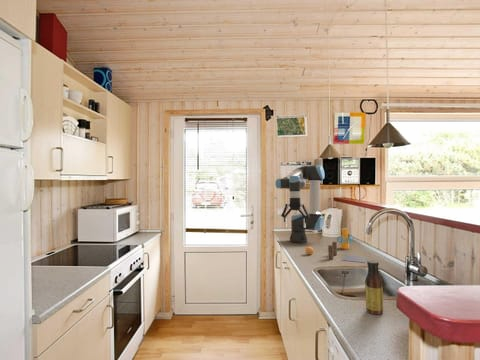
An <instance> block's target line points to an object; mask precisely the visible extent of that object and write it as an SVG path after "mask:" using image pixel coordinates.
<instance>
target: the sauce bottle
mask: <svg viewBox="0 0 480 360" xmlns="http://www.w3.org/2000/svg"><path fill="white" fill-rule="evenodd" d="M366 262H367V263H366V264H367V275H366V277H365V281H364V285H365V286H364V288H365V290H364V292H365V308H366V312H368V313H369V314H372V315H382V314H383V312H384V295H383V293H384V292H383V281H382V277H381V275H380V274H379V261H377V260H374V259H373V260H368V261H367V260H366Z"/></svg>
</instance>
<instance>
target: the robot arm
mask: <svg viewBox="0 0 480 360" xmlns="http://www.w3.org/2000/svg"><path fill="white" fill-rule="evenodd" d="M325 177H326V176H325V170H324V167H323V166H322V165H303V166H300V167H297V168H295V169H294V170H292V172H290V174H287V175H286V176H284V177H283V178H276V179H275V182H274V183H275V187H276V188H277V189H282V190H283V189H284V190H285V189H288V190H289V204H288V203H285V205H284V206H285V207H284V209H283V211H282V213H281V215H280V216H281V217H282V218H283V222H284V225H285V227H284V228H287V227H288V215H289V214H290V213H291V211H298V212H299V213H298V214H292V215H291V217H290V218H291V220H290V223H291V224H290V225H291V233H290V235H289V242H290V243H293V244H294V243H295V244H304V243H308V242H309V241H308V237H307V236H308V235H307V234H306V231H321V230H322V229H323V226H324V223H325V220H324V216H323V215H322V213H321V212H320V208H321V201H320V200H321V183H322V182H323V180H324V179H325ZM306 180H307V182H308V183H309V200H308V203H309V205H308V210H307V208H306V204H305V203H303V204H301V190H302V189H304V188H305V187H306V186H307V182H306ZM288 208H289V209H288ZM302 209H303V210H302Z"/></svg>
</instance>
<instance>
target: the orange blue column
mask: <svg viewBox="0 0 480 360" xmlns="http://www.w3.org/2000/svg"><path fill="white" fill-rule="evenodd" d="M348 230H349V229H348V228H347V227H343V228H341V235H340V236H338V237H337V238H336V242H337V243H340V248H341V249H342V250H348V249H349V250H350V244H352V243H353V241H354V239H353V237H352V236H349V237H348V235H349V233H348Z"/></svg>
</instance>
